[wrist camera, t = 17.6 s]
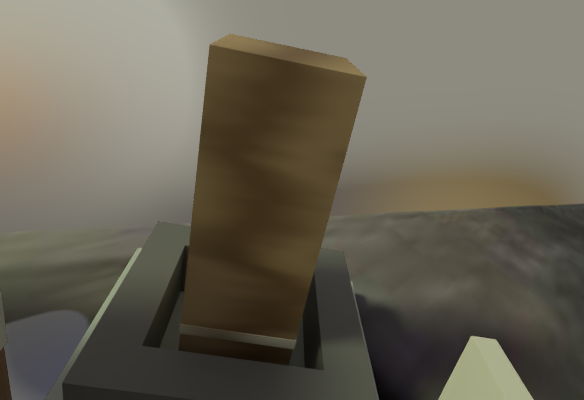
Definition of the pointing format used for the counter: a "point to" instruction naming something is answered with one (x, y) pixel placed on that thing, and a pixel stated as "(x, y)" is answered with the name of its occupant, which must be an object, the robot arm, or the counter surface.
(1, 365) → the wooden block
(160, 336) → the socket board
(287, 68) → the walnut peg
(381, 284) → the counter surface
